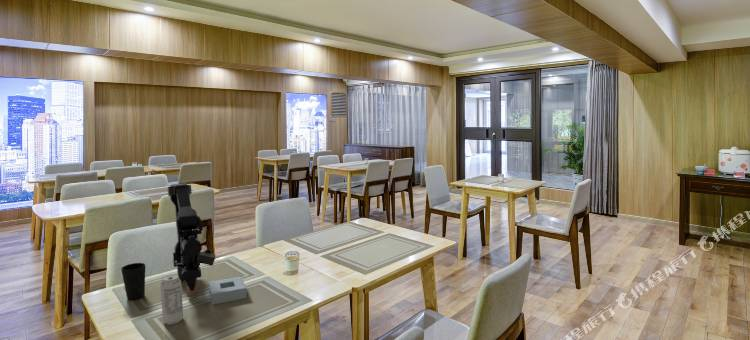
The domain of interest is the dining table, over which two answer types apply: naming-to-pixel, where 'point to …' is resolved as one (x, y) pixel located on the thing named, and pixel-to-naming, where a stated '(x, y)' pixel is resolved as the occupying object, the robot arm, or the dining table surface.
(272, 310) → the dining table surface
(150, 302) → the dining table surface
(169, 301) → the energy drink can
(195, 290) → the dowel
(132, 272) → the cup
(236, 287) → the socket
